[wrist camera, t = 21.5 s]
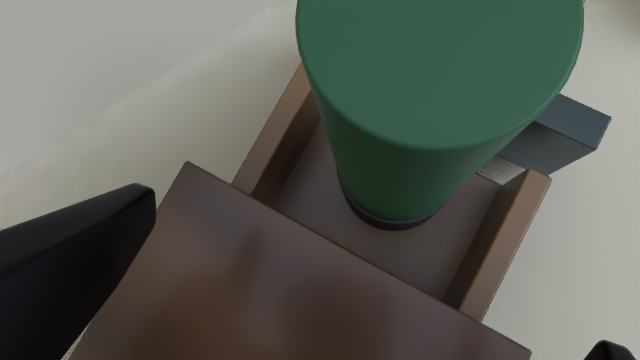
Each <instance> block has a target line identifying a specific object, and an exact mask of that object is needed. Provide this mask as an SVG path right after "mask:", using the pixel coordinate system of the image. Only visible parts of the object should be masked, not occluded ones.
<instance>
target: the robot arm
mask: <svg viewBox="0 0 640 360" xmlns="http://www.w3.org/2000/svg"><path fill="white" fill-rule="evenodd" d="M155 223H156V200H155V192H154V190H153V189H152V188H150V187H147V186H144V185H141V184H138V183H133V184H130V185H127V186H124V187H121V188H119V189H116V190H113V191H110V192H107V193H105V194H102V195H99V196H96V197H93V198H90V199H88V200H85V201H82V202H79V203H76V204H74V205H71V206H68V207H65V208H62V209H60V210H57V211H54V212H51V213H48V214H46V215H43V216H40V217H37V218H34V219H32V220H29V221H26V222H23V223H20V224H18V225H15V226H12V227H9V228H6V229H4V230H1V231H0V360H61V359H62V357H63V356H64V355H65V353H66V352H67V351H68V350H69V348H70V347H71V346H72V344H73V343H74V342H75V341H76V339H77V338H78V337H79V335H80V334H81V333H82V332H83V330H84V329H85V328H86V327H87V325H88V324H89V323H90V321H91V320H92V319H93V318H94V316H95V315H96V314H97V312H98V311H99V310H100V309H101V307H102V306H103V305H104V303H105V302H106V301H107V300H108V298H109V297H110V296H111V294H112V293H113V292H114V290H115V289H116V288H117V286H118V285H119V283H120V282H121V280H122V279H123V277H124V275H125V274H126V272H127V271H128V269H129V267H130V266H131V264H132V262H133V261H134V259H135V258H136V256H137V254H138V253H139V251H140V249H141V248H142V246H143V245H144V243H145V241H146V240H147V238H148V237H149V235H150V233H151V232H152V230H153V228H154V226H155ZM584 360H636V359H635V358H634V356H633V355H632V354H631V352H630V351H629V350H628V349H627V348H626V347H624V346H622V345H619V344H616V343H613V342H610V341H607V340H601V341H599V342H598V343H597V344H596V345H595V346H594V347H593V349H592V350H591V351H590V352H589V354H588V355H587V356H586V357H585V358H584Z"/></svg>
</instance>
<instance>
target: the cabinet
mask: <svg viewBox="0 0 640 360" xmlns="http://www.w3.org/2000/svg"><path fill="white" fill-rule="evenodd" d="M531 355H532V352H531V350H529V349H527V348H526V347H524V346H522V345H520V344H518V343H517V342H515V341H513V340H511V339H509V338H508V337H506V336H504V335H502V334H500V333H498V332H497V331H495V330H493V329H491V328H489V327H488V326H486V325H484V324H482V323H480V322H479V321H477V320H475V319H473V318H471V317H470V316H468V315H466V314H464V313H462V312H461V311H459V310H457V309H455V308H453V307H451V306H450V305H448V304H446V303H444V302H442V301H441V300H439V299H437V298H435V297H433V296H432V295H430V294H428V293H426V292H424V291H423V290H421V289H419V288H417V287H415V286H413V285H412V284H410V283H408V282H406V281H404V280H403V279H401V278H399V277H397V276H395V275H394V274H392V273H390V272H388V271H386V270H385V269H383V268H381V267H379V266H377V265H375V264H374V263H372V262H370V261H368V260H366V259H365V258H363V257H361V256H359V255H357V254H356V253H354V252H352V251H350V250H348V249H347V248H345V247H343V246H341V245H339V244H338V243H336V242H334V241H332V240H330V239H328V238H327V237H325V236H323V235H321V234H319V233H318V232H316V231H314V230H312V229H310V228H309V227H307V226H305V225H303V224H301V223H300V222H298V221H296V220H294V219H292V218H290V217H289V216H287V215H285V214H283V213H281V212H280V211H278V210H276V209H274V208H272V207H271V206H269V205H267V204H265V203H263V202H262V201H260V200H258V199H256V198H254V197H253V196H251V195H249V194H247V193H245V192H243V191H242V190H240V189H238V188H236V187H234V186H233V185H231V184H229V183H227V182H225V181H224V180H222V179H220V178H218V177H216V176H215V175H213V174H211V173H209V172H207V171H205V170H204V169H202V168H200V167H198V166H196V165H195V164H193V163H191V162H189V161H186V162H185V163H184V165H183V167H182V168H181V170H180V172H179V173H178V175H177V177H176V178H175V180H174V182H173V183H172V185H171V187H170V189H169V190H168V192H167V194H166V195H165V197H164V199H163V200H162V202H161V204H160V205H159V207H158V209H157V211H156V223H155V226H154V228H153V230H152V232H151V233H150V235H149V237H148V238H147V240H146V241H145V243H144V245H143V246H142V248H141V249H140V251H139V253H138V254H137V256H136V258H135V259H134V261H133V262H132V264H131V266H130V267H129V269H128V271H127V272H126V274H125V275H124V277H123V279H122V280H121V282H120V283H119V285H118V286H117V288H116V289H115V290H114V292H113V293H112V294H111V296H110V297H109V298H108V300H107V301H106V302H105V303H104V305H103V306H102V307H101V309H100V310H99V311H98V312H97V314H96V315H95V316H94V318H93V319H92V321H91V322H90V324H89V326H88V328H87V329H86V331H85V333H84V334H83V336H82V338H81V339H80V341H79V343H78V344H77V346H76V348H75V350H74V351H73V353H72V355H71V356H70V358H69V360H529V359H530V357H531Z"/></svg>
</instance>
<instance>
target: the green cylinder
mask: <svg viewBox="0 0 640 360" xmlns="http://www.w3.org/2000/svg"><path fill="white" fill-rule="evenodd" d="M295 20H296V38H297V44H298V50H299V53H300V56H301V60H302V63H303V66H304V69H305V72H306V75H307V78H308V81H309V84H310V87H311V90H312V93H313V96H314V99H315V102H316V105H317V108H318V111H319V114H320V117H321V120H322V123H323V126H324V129H325V132H326V135H327V138H328V141H329V144H330V147H331V150H332V153H333V156H334V159H335V162H336V169H337V176H338V180H339V183H340V186H341V189H342V192H343V194H344V197H345V199H346V201H347V203H348V205H349V207H350V208H351V210H352V211H353V212H354V213H355V214H356V215H357V216H358V217H359V218H360V219H361V220H363V221H364V222H365V223H367V224H369V225H371V226H373V227H376V228H378V229H382V230H387V231H402V230H408V229H411V228H414V227H416V226H418V225H421V224H422V223H424V222H425V221H427V220H428V219H429V218H430V217H432V216H433V215H434V214H435V213H436V212H437V211H439V210H440V209H441V208H442V207H443V206H444V205H445V204H446V203H447V202H448V200H449V199H450V197H451V196H452V194H453V193H454V192H455V191H456V190H457V189H458V188H459V187H461V186H462V185H463V184H464V183H465V182H466V181H467V180H468V179H469V178H470V177H472V176H473V175H474V174H475V173H476V172H477V171H478V170H479V169H480V168H481V167H483V166H484V165H485V164H486V163H487V162H488V161H489V160H490V159H491V158H492V157H494V156H495V155H496V154H497V153H498V152H499V151H500V150H501V149H502V148H503V147H504V146H506V145H507V144H508V143H509V142H510V141H511V140H512V139H513V138H514V137H515V136H517V135H518V134H519V133H520V132H521V131H522V130H523V129H524V128H525V127H526V126H528V125H529V124H530V123H531V122H532V121H533V120H534V119H535V118H536V117H537V116H539V115H540V114H541V113H542V112H543V111H544V110H545V109H546V108H547V107H548V106H549V104H550V103H551V102H552V101H553V100H554V99H555V98H556V97H557V95H558V94H559V92H560V91H561V89H562V88H563V86H564V85H565V83H566V82H567V80H568V78H569V76H570V74H571V72H572V70H573V68H574V66H575V64H576V60H577V57H578V54H579V51H580V48H581V42H582V36H583V30H584V8H583V1H582V0H297V8H296V17H295Z"/></svg>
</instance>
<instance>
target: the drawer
mask: <svg viewBox="0 0 640 360" xmlns="http://www.w3.org/2000/svg"><path fill="white" fill-rule="evenodd" d="M582 1H583V3H584V2H585V0H582ZM610 121H611V117H610V116H608V115H605V114H603V113H601V112H599V111H597V110H594V109H592V108H590V107H588V106H586V105H583V104H581V103H579V102H577V101H575V100H572V99H570V98H568V97H566V96H564V95H561V94H558V95H557V97H556V98H555V99H554V100H553V101H552V102H551V103H550V104H549V106H548V107H547V108H546V109H545V110H544V111H543V112H542V113H541V114H540V115H539V116H537V117H536V118H535V119H534V120H533V121H532V122H531V123H530V124H529V125H528V126H526V127H525V128H524V129H523V130H522V131H521V132H520V133H519V134H518V135H517V136H515V137H514V138H513V139H512V140H511V141H510V142H509V143H508V144H507V145H506V146H504V147H503V148H502V149H501V150H500V151H499V152H498V153H497V154H496V155H498V156H500V157H502V158H504V159H506V160H508V161H510V162H512V163H515V164H517V165H519V166H521V167H523V168H525V169H527V170H526V171H524V172H522V173H521V174H519V175H518V176H516V177H514V178H513V179H511V180H510V181H508V182H507V183H505V184H503V185H500V184H498V183H496V182H494V181H492V180H490V179H488V178H486V177H484V176H482V175H480V174H478V173H475V174H474V175H473V176H472V177H470V178H469V179H468V180H467V181H466V182H465V183H464V184H463V185H462V186H461V187H459V188H458V189H457V190H456V191H455V192H454V193H453V194H452V196H451V197H450V199H449V200H448V202H447V203H446V204H445V205H444V206H443V207H442V208H441V209H440V210H439V211H437V212H436V213H435V214H434V215H433V216H432V217H430V218H429V219H428V220H427V221H425V222H424V223H422V224H421V225H418V226H416V227H414V228H411V229H408V230H402V231H387V230H382V229H378V228H376V227H373V226H371V225H369V224H367V223H365V222H364V221H363V220H361V219H360V218H359V217H358V216H357V215H356V214H355V213H354V212H353V211H352V210H351V208H350V207H349V205H348V203H347V201H346V199H345V197H344V194H343V192H342V189H341V186H340V183H339V180H338V176H337V169H336V162H335V159H334V156H333V153H332V150H331V147H330V144H329V141H328V138H327V135H326V132H325V129H324V126H323V123H322V120H321V117H320V114H319V111H318V108H317V105H316V102H315V99H314V96H313V93H312V90H311V87H310V84H309V81H308V78H307V75H306V72H305V69H304V66H303V63H302V62H301V63H300V65H299V67H298V69H297V70H296V72H295V74H294V76H293V77H292V79H291V81H290V82H289V84H288V86H287V88H286V89H285V91H284V93H283V95H282V96H281V98H280V100H279V102H278V103H277V105H276V107H275V109H274V110H273V112H272V114H271V115H270V117H269V119H268V121H267V122H266V124H265V126H264V128H263V129H262V131H261V133H260V135H259V136H258V138H257V140H256V142H255V143H254V145H253V147H252V148H251V150H250V152H249V154H248V155H247V157H246V159H245V161H244V162H243V164H242V166H241V168H240V169H239V171H238V173H237V175H236V176H235V178H234V180H233V181H232V183H231V185H233V186H234V187H236V188H238V189H240V190H242V191H243V192H245V193H247V194H249V195H251V196H253V197H254V198H256V199H258V200H260V201H262V202H263V203H265V204H267V205H269V206H271V207H272V208H274V209H276V210H278V211H280V212H281V213H283V214H285V215H287V216H289V217H290V218H292V219H294V220H296V221H298V222H300V223H301V224H303V225H305V226H307V227H309V228H310V229H312V230H314V231H316V232H318V233H319V234H321V235H323V236H325V237H327V238H328V239H330V240H332V241H334V242H336V243H338V244H339V245H341V246H343V247H345V248H347V249H348V250H350V251H352V252H354V253H356V254H357V255H359V256H361V257H363V258H365V259H366V260H368V261H370V262H372V263H374V264H375V265H377V266H379V267H381V268H383V269H385V270H386V271H388V272H390V273H392V274H394V275H395V276H397V277H399V278H401V279H403V280H404V281H406V282H408V283H410V284H412V285H413V286H415V287H417V288H419V289H421V290H423V291H424V292H426V293H428V294H430V295H432V296H433V297H435V298H437V299H439V300H441V301H442V302H444V303H446V304H448V305H450V306H451V307H453V308H455V309H457V310H459V311H461V312H462V313H464V314H466V315H468V316H470V317H471V318H473V319H475V320H477V321H479V322H480V323H481V322H482V320H483V318H484V316H485V314H486V312H487V310H488V308H489V306H490V304H491V302H492V300H493V298H494V296H495V294H496V292H497V290H498V288H499V286H500V284H501V282H502V280H503V278H504V276H505V274H506V272H507V270H508V268H509V266H510V264H511V262H512V260H513V258H514V256H515V254H516V252H517V250H518V248H519V246H520V244H521V242H522V240H523V238H524V236H525V234H526V232H527V230H528V228H529V226H530V224H531V222H532V220H533V218H534V216H535V214H536V212H537V210H538V208H539V206H540V204H541V202H542V200H543V198H544V196H545V194H546V192H547V190H548V188H549V186H550V184H551V182H552V179H551V178H550V177H549V176H547V175H549V174H551V173H553V172H555V171H557V170H559V169H561V168H563V167H565V166H567V165H568V164H570V163H572V162H574V161H576V160H578V159H580V158H582V157H584V156H586V155H587V154H589V153H591V152H593V151H595V150H596V149H597V147H598V145H599V143H600V141H601V139H602V137H603V135H604V133H605V131H606V129H607V127H608V125H609V123H610Z"/></svg>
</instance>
